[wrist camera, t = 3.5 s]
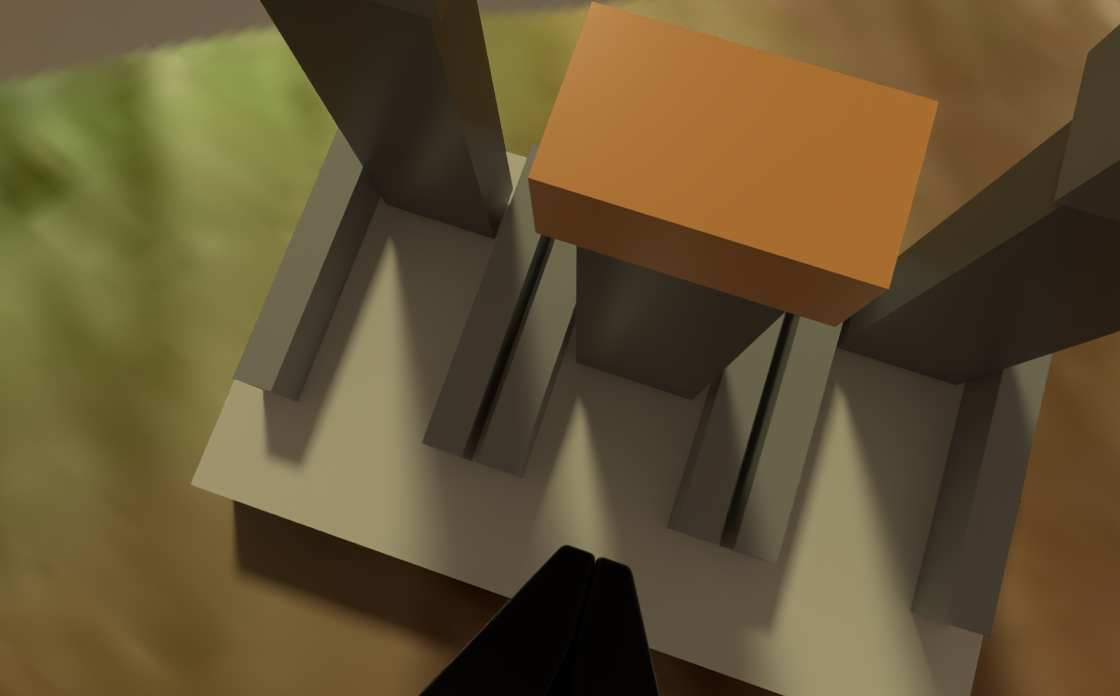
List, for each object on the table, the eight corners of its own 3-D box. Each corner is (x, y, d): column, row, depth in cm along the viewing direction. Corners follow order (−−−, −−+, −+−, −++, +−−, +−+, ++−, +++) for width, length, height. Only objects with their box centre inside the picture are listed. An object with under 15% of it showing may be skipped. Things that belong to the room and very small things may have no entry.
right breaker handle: (969, 404, 16) (1537, 251, 7) (815, 355, 16) (1149, 140, 7) (988, 322, 16) (1557, 64, 7) (837, 275, 17) (1184, -35, 7)
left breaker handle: (505, 256, 17) (416, -70, 7) (366, 212, 17) (106, -157, 8) (532, 181, 17) (481, -223, 8) (396, 139, 18) (183, -303, 8)
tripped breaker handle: (703, 419, 16) (888, 289, 7) (555, 370, 16) (527, 176, 7) (728, 337, 16) (939, 102, 7) (582, 290, 17) (591, 1, 7)
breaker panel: (912, 728, 17) (997, 783, 14) (231, 487, 18) (152, 482, 15) (1003, 339, 19) (1099, 301, 15) (373, 143, 20) (331, 67, 17)
